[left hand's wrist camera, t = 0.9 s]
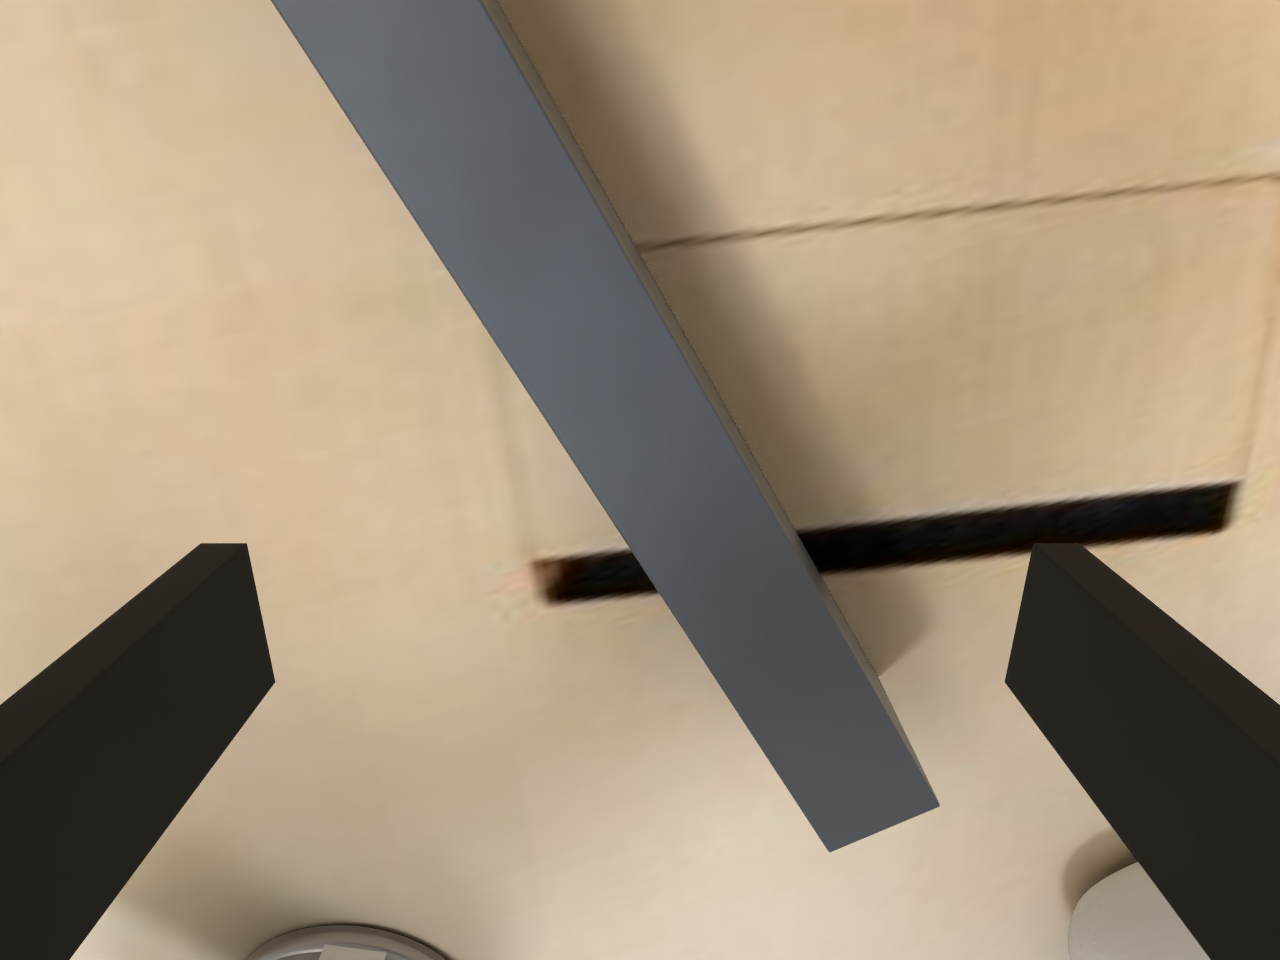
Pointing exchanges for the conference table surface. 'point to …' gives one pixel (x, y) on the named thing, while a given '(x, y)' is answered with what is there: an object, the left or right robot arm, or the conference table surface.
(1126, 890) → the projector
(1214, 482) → the conference table surface
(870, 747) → the beam
